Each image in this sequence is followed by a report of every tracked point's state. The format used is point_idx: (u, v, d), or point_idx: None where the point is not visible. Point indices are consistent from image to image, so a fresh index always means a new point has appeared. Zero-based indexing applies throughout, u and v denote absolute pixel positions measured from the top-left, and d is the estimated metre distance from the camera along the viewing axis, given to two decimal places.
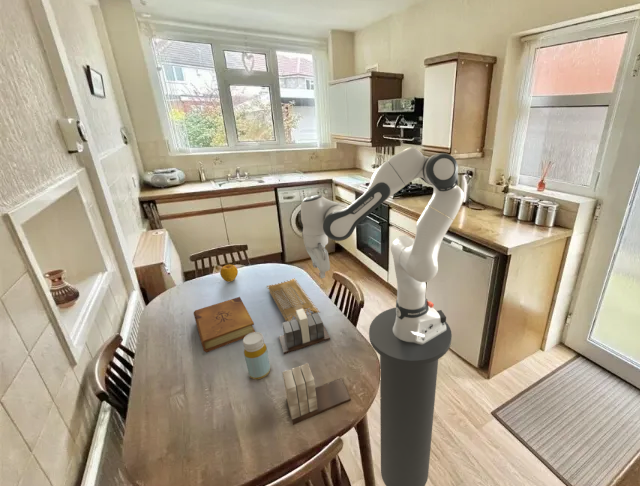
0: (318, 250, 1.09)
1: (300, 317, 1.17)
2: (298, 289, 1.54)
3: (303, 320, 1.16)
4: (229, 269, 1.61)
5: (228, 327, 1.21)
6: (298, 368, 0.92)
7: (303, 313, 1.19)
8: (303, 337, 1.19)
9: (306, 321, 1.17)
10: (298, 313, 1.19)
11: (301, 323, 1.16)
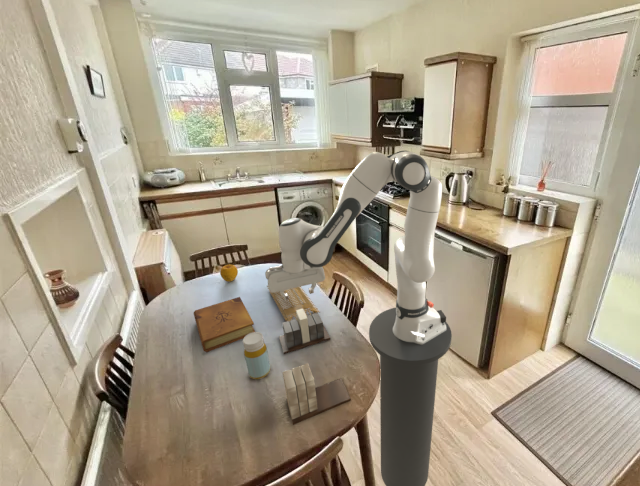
0: None
1: (300, 317, 1.17)
2: (298, 289, 1.54)
3: (303, 320, 1.16)
4: (229, 269, 1.61)
5: (228, 327, 1.21)
6: (298, 368, 0.92)
7: (303, 313, 1.19)
8: (303, 337, 1.19)
9: (306, 321, 1.17)
10: (298, 313, 1.19)
11: (301, 323, 1.16)
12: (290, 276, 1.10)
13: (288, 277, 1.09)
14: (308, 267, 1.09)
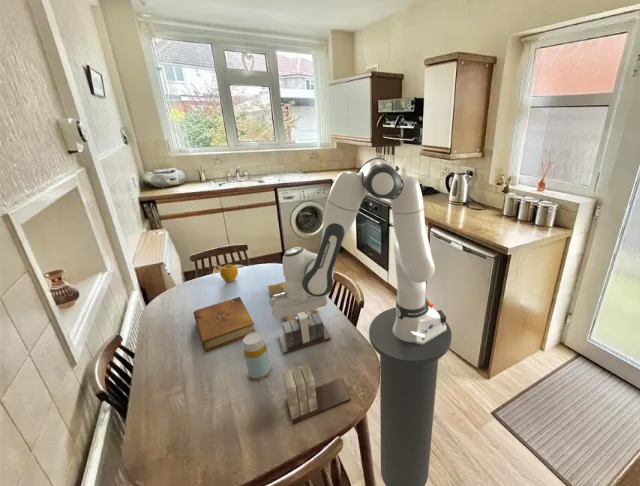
0: None
1: (300, 317, 1.17)
2: None
3: (303, 320, 1.16)
4: (229, 269, 1.61)
5: (228, 327, 1.21)
6: (298, 368, 0.92)
7: (303, 313, 1.19)
8: (303, 337, 1.19)
9: (306, 321, 1.17)
10: (298, 313, 1.19)
11: (301, 323, 1.16)
12: (294, 302, 1.14)
13: (292, 304, 1.14)
14: None
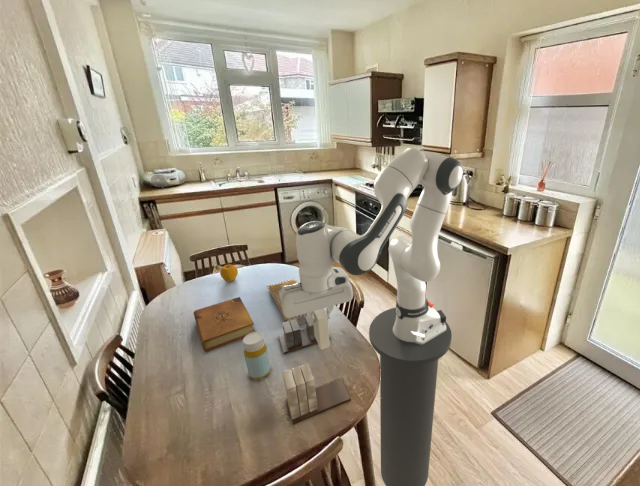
0: None
1: (318, 316, 0.89)
2: None
3: (322, 320, 0.88)
4: (229, 269, 1.61)
5: (228, 327, 1.21)
6: (298, 368, 0.92)
7: (322, 310, 0.91)
8: (321, 342, 0.90)
9: (326, 321, 0.89)
10: None
11: (319, 323, 0.88)
12: (310, 296, 0.86)
13: (307, 298, 0.85)
14: (333, 285, 0.85)
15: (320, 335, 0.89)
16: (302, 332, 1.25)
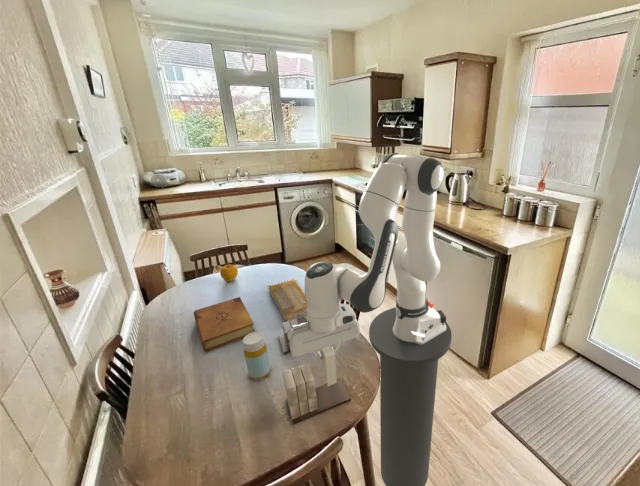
0: None
1: (325, 353, 0.89)
2: (298, 289, 1.54)
3: (329, 357, 0.89)
4: (229, 269, 1.61)
5: (228, 327, 1.21)
6: (298, 368, 0.92)
7: (329, 347, 0.92)
8: (328, 378, 0.91)
9: (333, 358, 0.89)
10: None
11: (327, 361, 0.89)
12: (318, 335, 0.86)
13: (315, 337, 0.86)
14: (341, 324, 0.86)
15: (327, 372, 0.90)
16: None
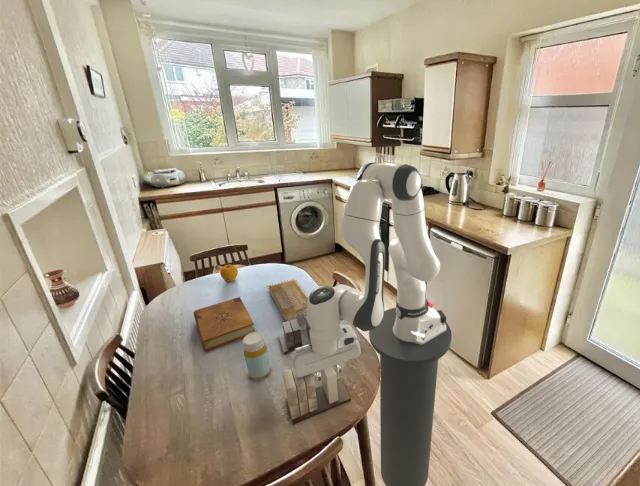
0: None
1: (327, 372, 0.92)
2: (298, 289, 1.54)
3: (331, 377, 0.91)
4: (229, 269, 1.61)
5: (228, 327, 1.21)
6: None
7: None
8: (330, 396, 0.94)
9: (334, 377, 0.92)
10: None
11: (328, 380, 0.91)
12: (320, 356, 0.89)
13: (318, 358, 0.89)
14: (342, 345, 0.89)
15: (329, 391, 0.93)
16: (302, 332, 1.25)
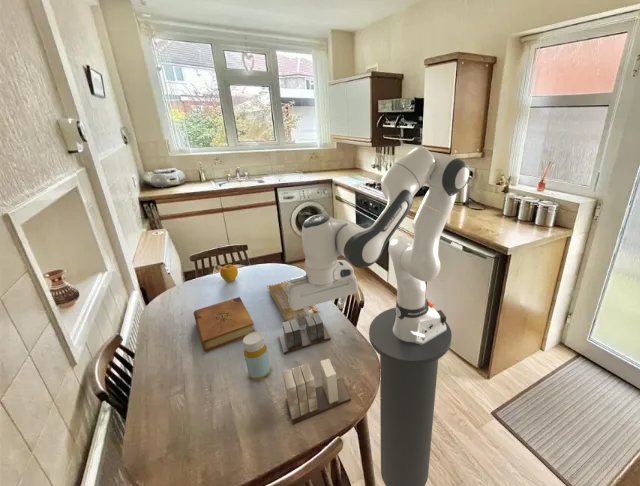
0: None
1: (327, 372, 0.92)
2: None
3: (331, 377, 0.91)
4: (229, 269, 1.61)
5: (228, 327, 1.21)
6: (298, 368, 0.92)
7: (330, 366, 0.94)
8: (330, 396, 0.94)
9: (334, 377, 0.92)
10: (324, 366, 0.94)
11: (328, 380, 0.91)
12: (316, 289, 0.87)
13: (314, 290, 0.87)
14: (339, 277, 0.87)
15: (329, 391, 0.93)
16: (302, 332, 1.25)
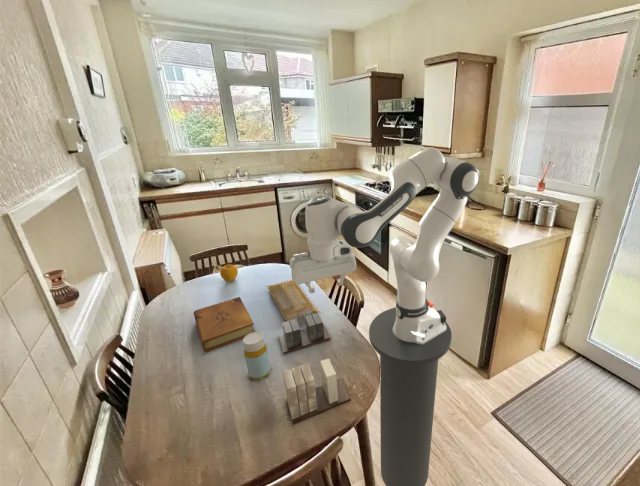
0: None
1: (327, 372, 0.92)
2: (298, 289, 1.54)
3: (331, 377, 0.91)
4: (229, 269, 1.61)
5: (228, 327, 1.21)
6: (298, 368, 0.92)
7: (330, 366, 0.94)
8: (330, 396, 0.94)
9: (334, 377, 0.92)
10: (324, 366, 0.94)
11: (328, 380, 0.91)
12: (318, 265, 0.94)
13: (315, 266, 0.94)
14: (338, 254, 0.94)
15: (329, 391, 0.93)
16: (302, 332, 1.25)
